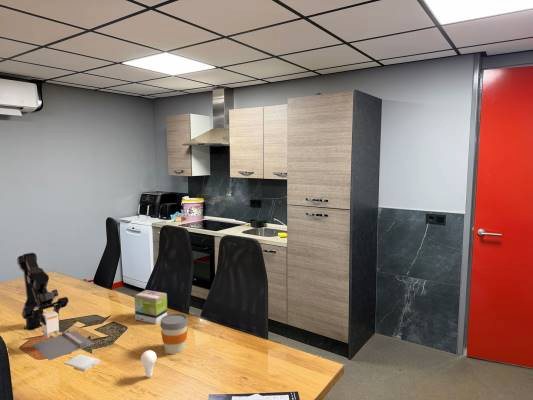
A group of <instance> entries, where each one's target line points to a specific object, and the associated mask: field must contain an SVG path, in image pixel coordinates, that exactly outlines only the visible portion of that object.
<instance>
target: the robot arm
mask: <svg viewBox="0 0 533 400" xmlns="http://www.w3.org/2000/svg"><path fill="white" fill-rule="evenodd" d="M37 256H38V255H37V254H36V253H35V252H28V253H23V254H22V255H19V256H18V257H17V259H16V264H17V265H18V268H19V269H20V270H21V272H23V279H24V286H25V287H24V288H25V296H26V300H25V302H24V304H23V309H22V312H21V316H22V319H24V320H25V322H26V323H25V325H26V326H24V327H23V329H24V330H29V331H33V330H35V329H38V328H40V327H43V324H44V325H46V322H45V319H44V317H43V315H42V314H44V310H47V309H51V308H53V310H52V311H55V312H57V313H58V321H59V319H60V310H61V309H63V308H65V307H66V306H68V303H69V301H70V300H69V298H68V297H67V296H63V297H60V298H58V299H57V301H55V302H53V301H54V299H56V297H58V296H59V291H58V289H57V288H56V289H52V290H51V291H49V290H48V288H47V287H48V284H49V280H50V278H49V277H50V276H49V275H48V274H47V273H46V272H45V271H44V268H42V267H39V264H38V257H37Z"/></svg>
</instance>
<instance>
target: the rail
mask: <svg viewBox="0 0 533 400" xmlns="http://www.w3.org/2000/svg"><path fill="white" fill-rule="evenodd" d="M69 332H70V330H69V329H67V330H65V331H61V335H62V336H66V337H67V338H69V339H70V340H72V341H73V342H75V343H76V344H77V345H79V348H81V347H84V346H86V341H85V342H82V341H80V340H79V339H77V338H76V337H74V336H73V335H71V334H70V333H69ZM84 348H85V347H84Z"/></svg>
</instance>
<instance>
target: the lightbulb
mask: <svg viewBox="0 0 533 400" xmlns="http://www.w3.org/2000/svg"><path fill="white" fill-rule="evenodd" d="M157 359H158V358H157V353H156V352H155V351H153V350H146V351H144V352H143V353H142V354H141V356H140V363H141V364H142V366H143V367H144V368H143V369H144V372H145V376H146V377H147V378H151V377H152V376H153V372H154V371H153V370H154V365H155V364H156V361H157Z"/></svg>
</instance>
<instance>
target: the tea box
mask: <svg viewBox="0 0 533 400" xmlns="http://www.w3.org/2000/svg"><path fill="white" fill-rule="evenodd" d="M134 315H135V316H134V317H135V320H136V321H141V322H145V323H148V324H149V323H150V324H152V325H153V324H154V325H158V324H159V323H161V319H162V318H163V317H164V316H166V315H168V294H167V292H162V291H161V292H160V291H156V290H155V291H154V290H148V289H144V290H143V291H141V292H139V293H137V294H134Z"/></svg>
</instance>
